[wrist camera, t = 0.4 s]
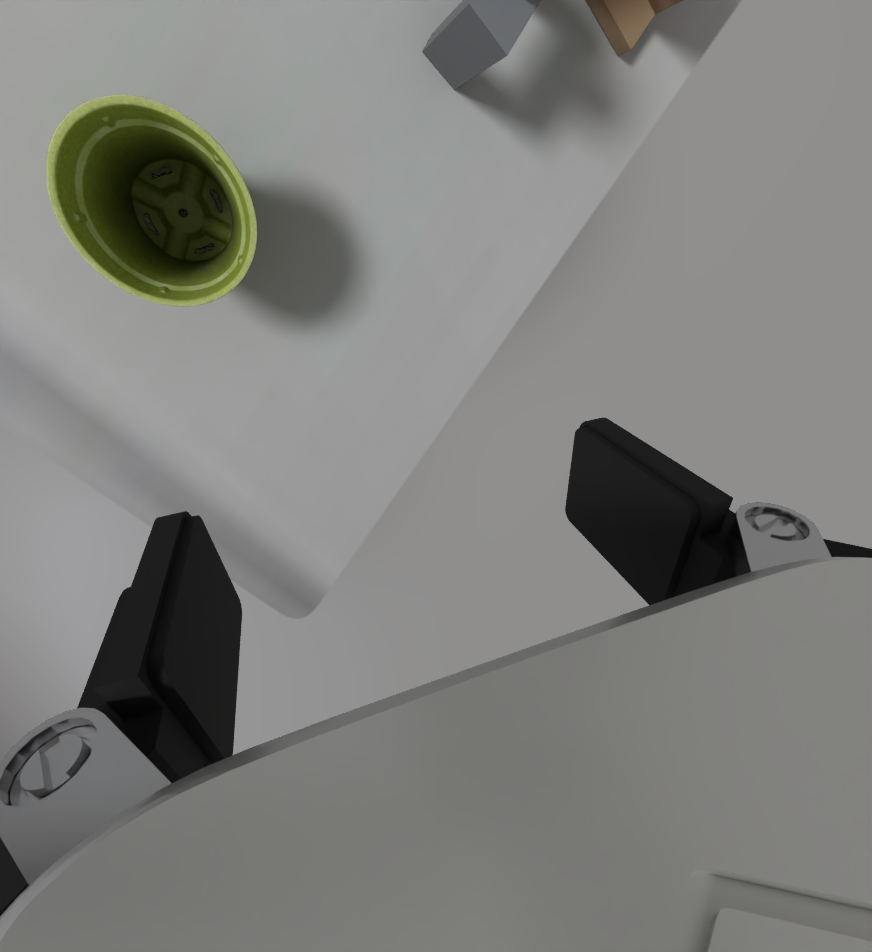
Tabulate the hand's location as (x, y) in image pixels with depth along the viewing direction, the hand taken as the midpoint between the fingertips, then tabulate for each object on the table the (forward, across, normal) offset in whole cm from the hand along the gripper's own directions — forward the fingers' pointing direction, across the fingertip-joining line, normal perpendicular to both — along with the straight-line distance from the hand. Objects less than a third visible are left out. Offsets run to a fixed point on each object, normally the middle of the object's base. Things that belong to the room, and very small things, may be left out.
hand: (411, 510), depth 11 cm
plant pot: (+30, +7, -6) cm, 32 cm away
